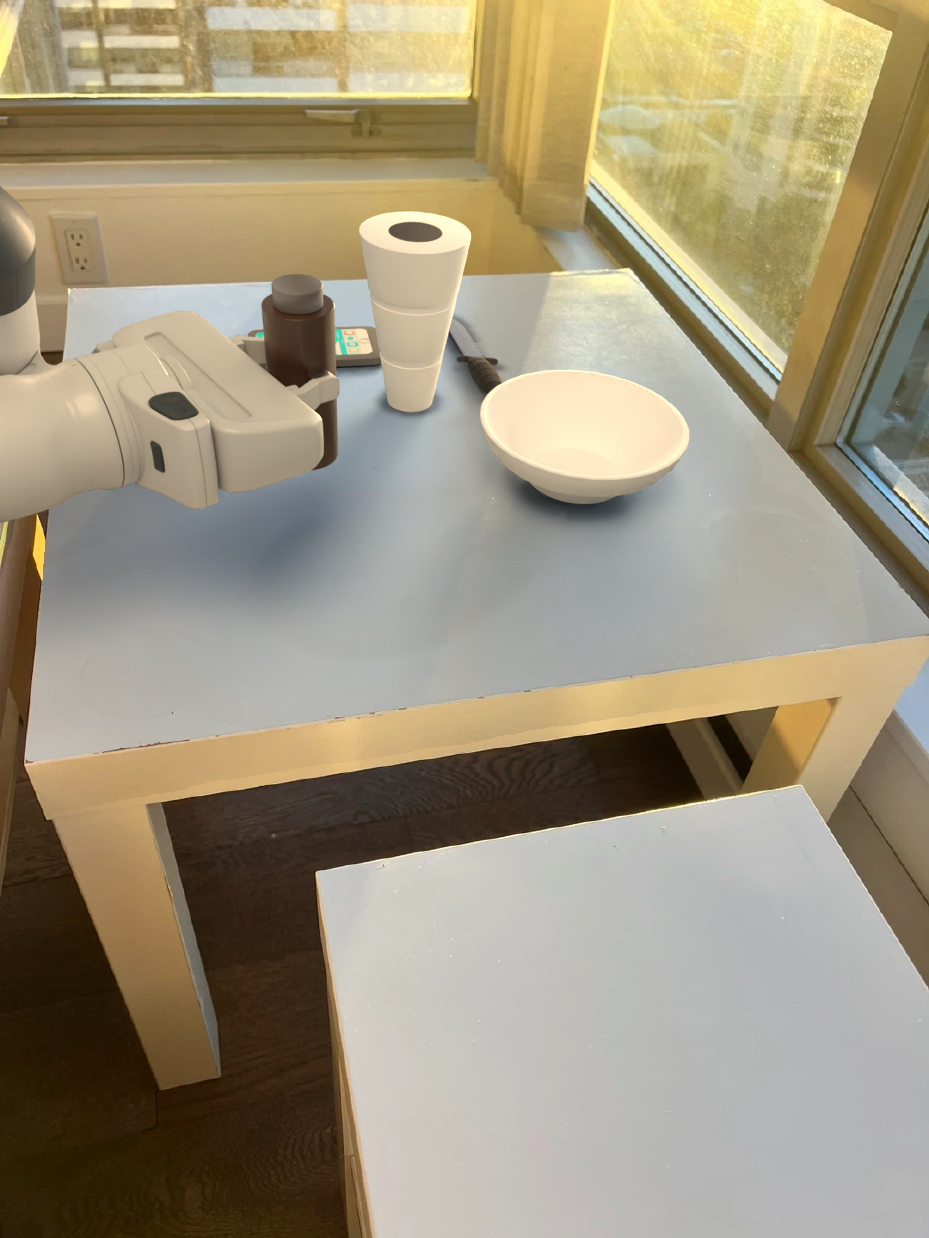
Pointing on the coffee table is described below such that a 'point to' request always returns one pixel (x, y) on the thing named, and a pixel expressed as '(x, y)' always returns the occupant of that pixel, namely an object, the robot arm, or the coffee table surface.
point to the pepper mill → (302, 343)
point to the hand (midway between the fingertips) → (311, 365)
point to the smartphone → (349, 346)
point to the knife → (475, 358)
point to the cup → (413, 297)
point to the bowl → (583, 433)
